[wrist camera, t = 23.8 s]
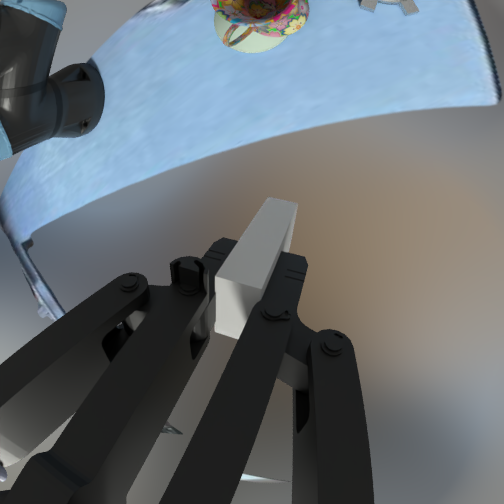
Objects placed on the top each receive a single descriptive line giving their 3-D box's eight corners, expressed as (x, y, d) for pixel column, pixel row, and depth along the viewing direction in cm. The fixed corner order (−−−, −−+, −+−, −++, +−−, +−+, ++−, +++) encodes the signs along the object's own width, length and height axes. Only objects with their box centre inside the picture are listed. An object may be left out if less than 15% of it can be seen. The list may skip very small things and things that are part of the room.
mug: (265, -26, 24) (238, -56, 15) (326, 2, 25) (319, -26, 16) (221, 38, 31) (181, 28, 23) (278, 68, 32) (254, 62, 23)
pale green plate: (212, 52, 33) (210, 51, 33) (219, -13, 27) (217, -14, 26) (290, 56, 31) (289, 56, 30) (297, -13, 24) (297, -14, 24)
